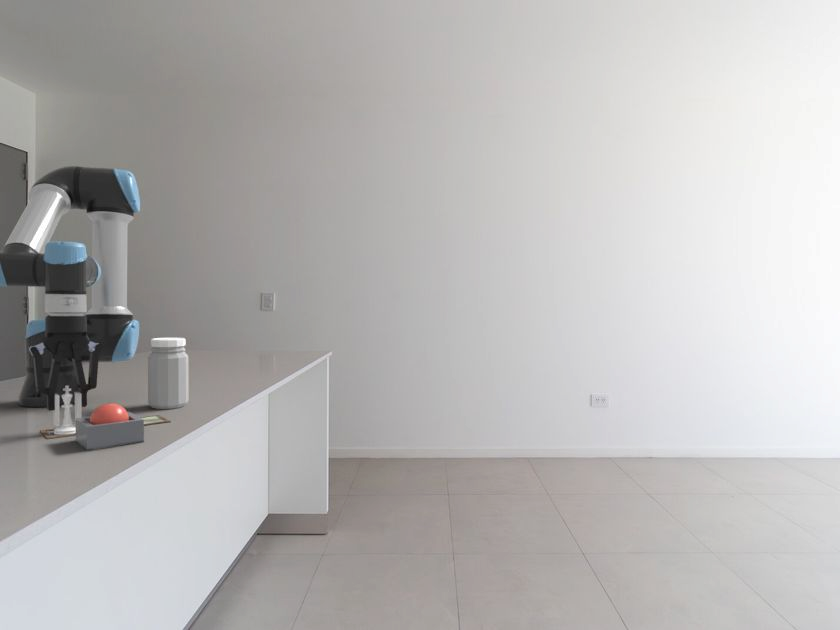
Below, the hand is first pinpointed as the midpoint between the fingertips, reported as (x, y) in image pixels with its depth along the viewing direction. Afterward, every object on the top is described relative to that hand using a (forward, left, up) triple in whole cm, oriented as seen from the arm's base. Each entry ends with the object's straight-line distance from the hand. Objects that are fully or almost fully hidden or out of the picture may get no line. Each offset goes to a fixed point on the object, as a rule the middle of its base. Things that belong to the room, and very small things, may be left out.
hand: (67, 423), depth 120 cm
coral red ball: (+14, +5, -1) cm, 15 cm away
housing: (+14, +5, -2) cm, 15 cm away
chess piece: (0, 0, -2) cm, 2 cm away
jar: (-15, +26, -2) cm, 30 cm away
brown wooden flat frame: (0, +8, -2) cm, 8 cm away
